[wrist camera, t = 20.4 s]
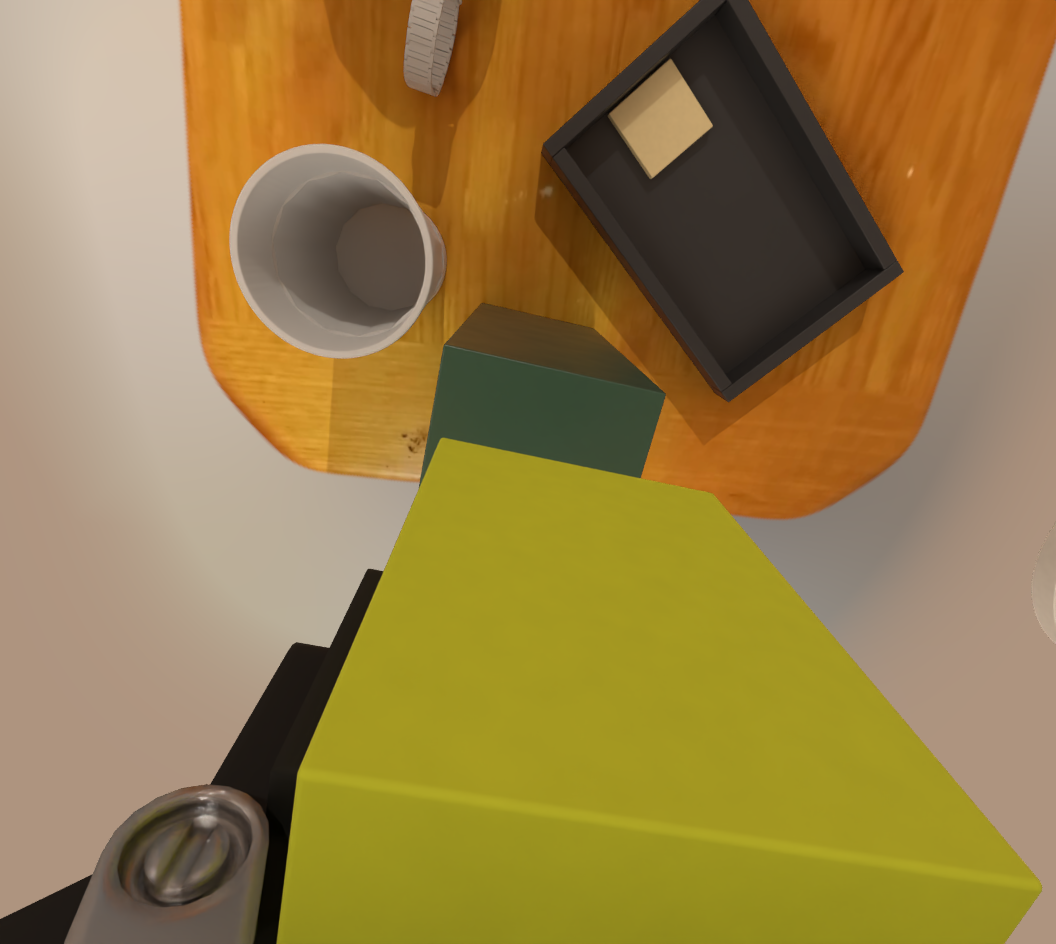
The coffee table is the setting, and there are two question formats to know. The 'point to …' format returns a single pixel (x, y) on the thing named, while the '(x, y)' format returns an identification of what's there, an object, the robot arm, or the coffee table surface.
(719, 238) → the pan
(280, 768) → the robot arm
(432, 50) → the wristwatch
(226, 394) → the coffee table surface
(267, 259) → the cup
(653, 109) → the beige flat square block
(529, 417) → the tall green box
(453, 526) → the yellow-green rectangular block
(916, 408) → the coffee table surface
